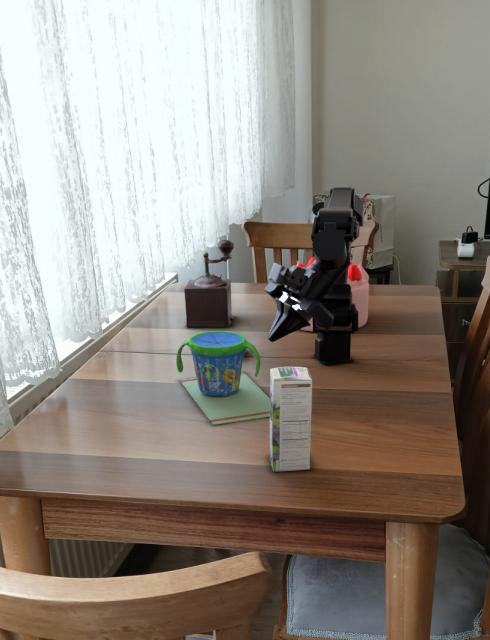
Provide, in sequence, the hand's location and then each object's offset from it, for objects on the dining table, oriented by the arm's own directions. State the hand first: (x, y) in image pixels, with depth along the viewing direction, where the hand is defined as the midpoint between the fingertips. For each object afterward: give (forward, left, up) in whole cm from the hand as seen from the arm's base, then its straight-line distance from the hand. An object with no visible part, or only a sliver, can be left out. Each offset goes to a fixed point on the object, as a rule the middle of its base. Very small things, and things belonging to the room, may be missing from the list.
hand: (269, 340), depth 146 cm
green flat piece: (+9, +4, -9) cm, 13 cm away
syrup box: (+9, +34, -9) cm, 36 cm away
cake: (-27, -36, -9) cm, 46 cm away
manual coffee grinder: (-2, -49, -9) cm, 49 cm away
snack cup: (+10, +1, -9) cm, 14 cm away
